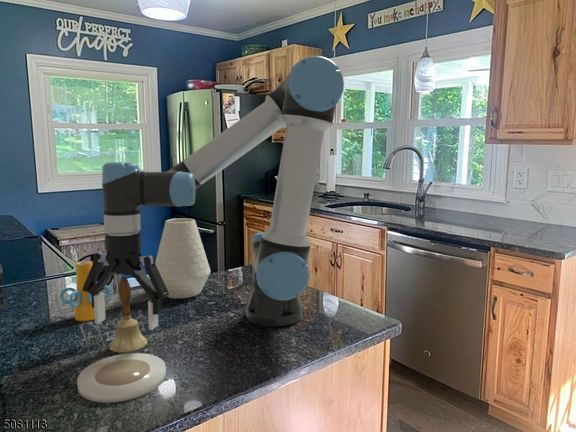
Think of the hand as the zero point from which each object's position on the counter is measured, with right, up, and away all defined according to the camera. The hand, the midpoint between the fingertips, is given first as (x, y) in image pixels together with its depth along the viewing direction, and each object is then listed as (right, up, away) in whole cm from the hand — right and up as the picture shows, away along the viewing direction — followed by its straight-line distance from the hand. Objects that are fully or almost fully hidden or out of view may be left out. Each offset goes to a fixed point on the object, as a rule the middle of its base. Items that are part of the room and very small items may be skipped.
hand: (126, 324), depth 99 cm
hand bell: (0, -5, +1) cm, 5 cm away
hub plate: (+5, -7, -15) cm, 17 cm away
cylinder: (-17, -3, +17) cm, 24 cm away
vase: (+4, 0, +38) cm, 38 cm away
